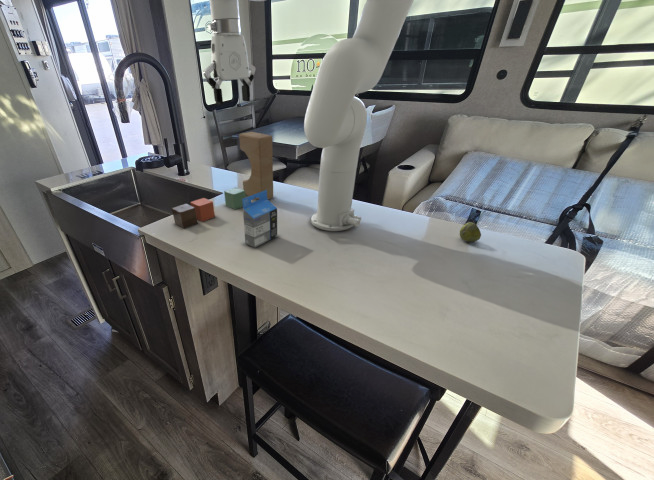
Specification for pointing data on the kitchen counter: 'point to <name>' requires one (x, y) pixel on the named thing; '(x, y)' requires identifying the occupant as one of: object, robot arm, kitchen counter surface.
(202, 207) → the block
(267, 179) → the decorative block
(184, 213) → the block
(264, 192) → the tape cartridge
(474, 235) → the lime
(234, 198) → the block
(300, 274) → the kitchen counter surface
